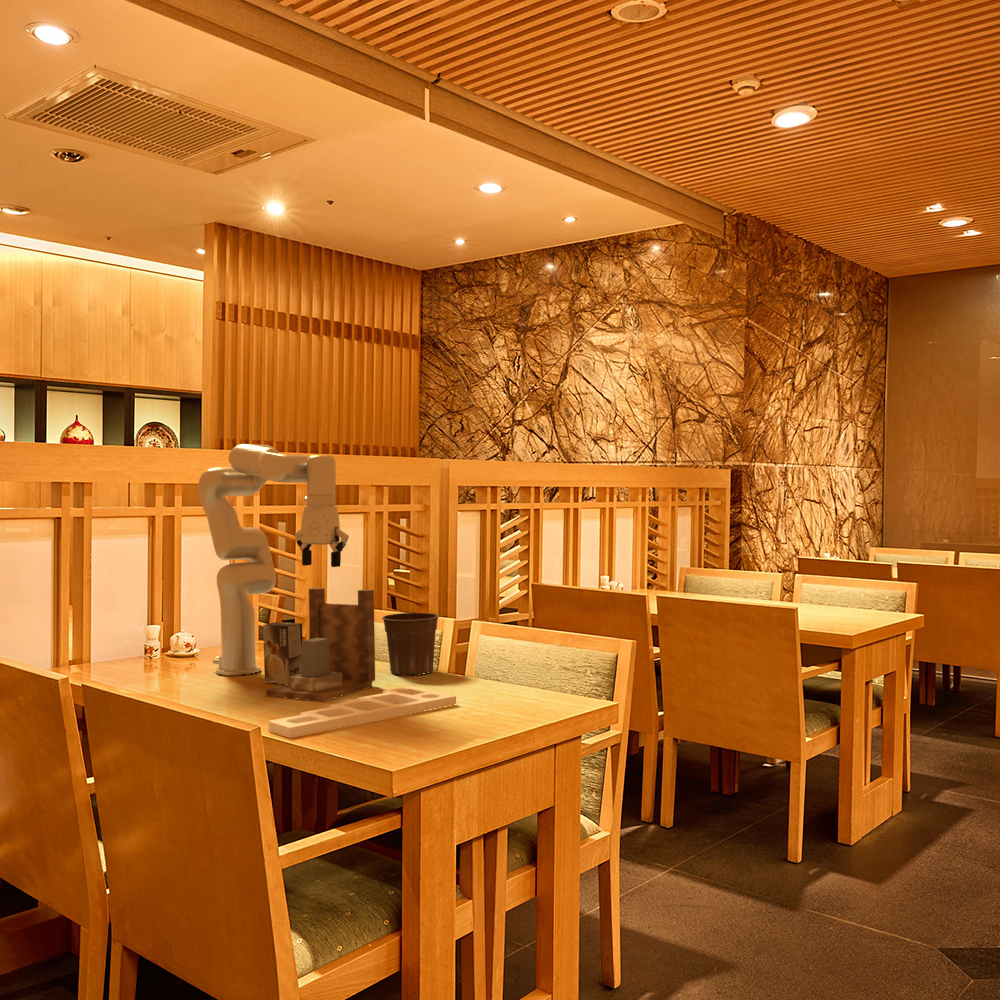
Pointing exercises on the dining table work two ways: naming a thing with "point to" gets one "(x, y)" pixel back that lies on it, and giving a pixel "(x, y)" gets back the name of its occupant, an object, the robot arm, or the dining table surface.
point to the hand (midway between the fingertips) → (321, 565)
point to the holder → (362, 711)
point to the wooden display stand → (338, 648)
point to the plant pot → (411, 642)
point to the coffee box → (282, 651)
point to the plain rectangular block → (315, 657)
